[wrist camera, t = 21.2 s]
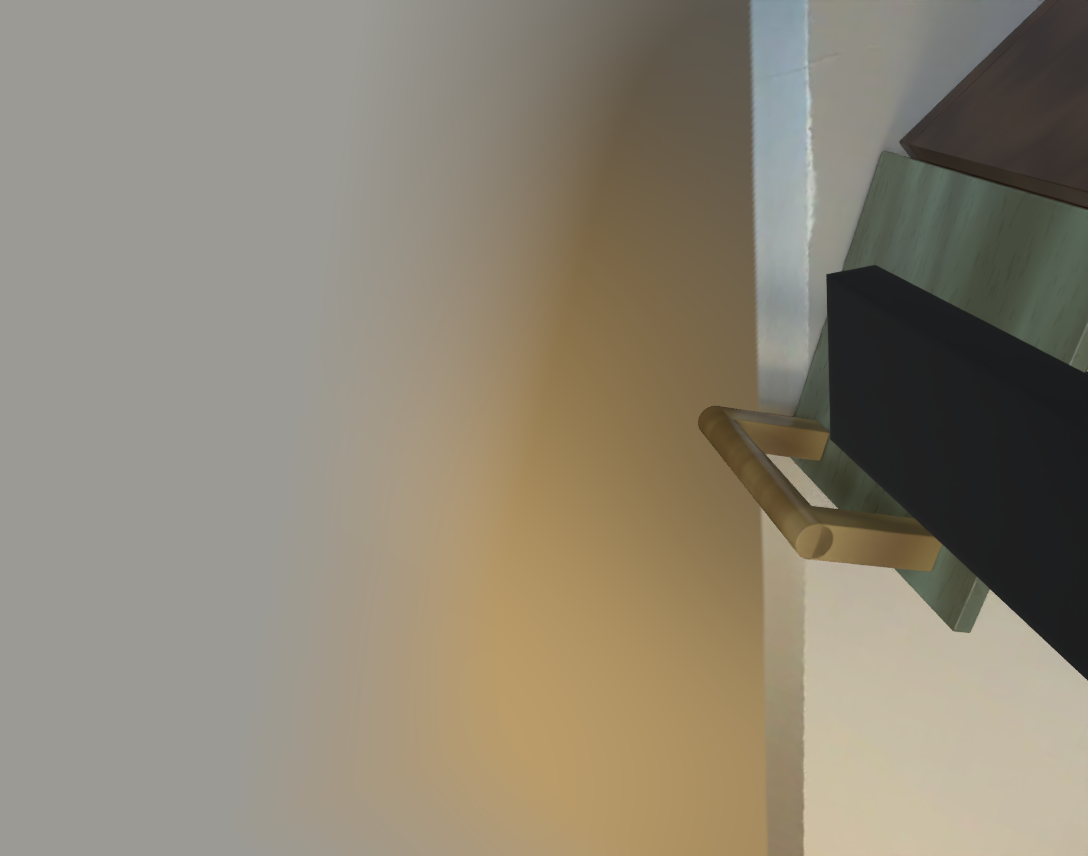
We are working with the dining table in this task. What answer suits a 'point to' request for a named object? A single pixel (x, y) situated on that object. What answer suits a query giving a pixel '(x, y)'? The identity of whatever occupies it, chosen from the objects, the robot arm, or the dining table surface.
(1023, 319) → the cupboard door
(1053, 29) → the cupboard
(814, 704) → the dining table surface
